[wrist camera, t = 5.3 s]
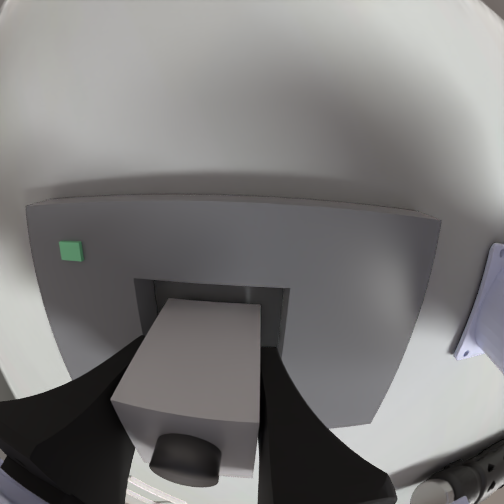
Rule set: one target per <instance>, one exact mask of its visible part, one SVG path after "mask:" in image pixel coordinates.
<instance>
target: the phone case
mask: <svg viewBox="0 0 504 504" xmlns="http://www.w3.org/2000/svg"><path fill="white" fill-rule="evenodd" d="M128 481H129V482H130V483H132V484H134V485H136V486H138V487H140V488H142V489H144V490H146V491H148V492H150V493H152V494H154V495H157V496H159V497H161V498H163V499H166V500H168V501H170V502H173V503H175V504H187V502H185V501H183V500H180V499H178V498H176V497H173V496H171V495H169V494H166V493H164V492H162V491H160V490H158V489H156V488H154V487H152V486H150V485H148V484H146V483H144V482H142V481H140V480H138V479H136V478H134V477H133V476H131V477H130V478H128ZM126 493H127V494H128V495H130V496H132V497H135V498H137V499H139V500H141V501H143V502H145V503H147V504H162V503H157V502H154V501H152V500H149V499H147V498H145V497H143V496H141V495H139V494H137V493H135V492H133V491H131V490H129V489H126Z"/></svg>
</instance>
